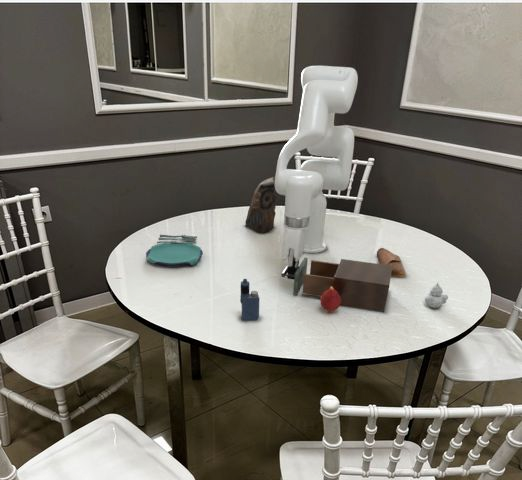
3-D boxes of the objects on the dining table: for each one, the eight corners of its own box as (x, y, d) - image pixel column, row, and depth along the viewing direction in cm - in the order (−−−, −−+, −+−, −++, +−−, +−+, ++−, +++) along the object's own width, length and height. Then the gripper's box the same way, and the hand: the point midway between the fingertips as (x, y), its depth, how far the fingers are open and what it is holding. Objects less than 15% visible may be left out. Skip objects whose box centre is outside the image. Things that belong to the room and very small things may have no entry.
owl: (272, 223, 203) (274, 175, 192) (283, 232, 193) (286, 182, 182) (244, 225, 199) (245, 176, 188) (254, 235, 189) (255, 184, 178)
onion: (341, 310, 138) (345, 285, 134) (335, 318, 134) (339, 293, 129) (322, 305, 140) (325, 281, 136) (316, 313, 136) (319, 288, 131)
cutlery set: (141, 268, 159) (141, 262, 157) (155, 237, 184) (154, 232, 182) (201, 269, 160) (200, 263, 158) (206, 238, 185) (206, 233, 183)
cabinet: (330, 304, 141) (334, 277, 136) (338, 284, 153) (341, 258, 148) (384, 312, 138) (389, 285, 133) (387, 291, 150) (392, 265, 145)
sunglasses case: (407, 276, 159) (400, 259, 156) (387, 284, 161) (380, 268, 158) (399, 256, 174) (392, 240, 171) (380, 264, 176) (374, 249, 173)
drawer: (277, 292, 145) (278, 271, 141) (288, 274, 156) (289, 255, 152) (340, 301, 140) (343, 280, 137) (346, 283, 151) (349, 263, 148)
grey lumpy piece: (421, 301, 144) (427, 277, 140) (442, 302, 144) (449, 278, 140) (426, 310, 140) (432, 285, 135) (448, 311, 140) (455, 286, 135)
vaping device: (240, 316, 133) (240, 277, 126) (258, 316, 133) (259, 277, 127) (240, 321, 131) (240, 281, 124) (259, 320, 131) (260, 281, 125)
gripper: (290, 212, 145) (286, 267, 155) (278, 227, 133) (275, 286, 143) (314, 215, 144) (309, 270, 154) (304, 230, 132) (299, 289, 142)
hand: (292, 278), depth 148 cm, fingers closed
